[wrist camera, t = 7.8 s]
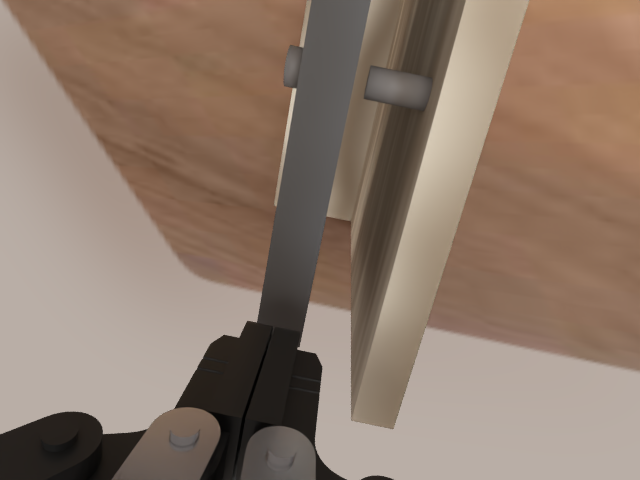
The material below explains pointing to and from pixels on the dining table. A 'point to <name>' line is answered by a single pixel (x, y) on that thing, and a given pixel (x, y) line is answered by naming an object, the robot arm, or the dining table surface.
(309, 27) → the picture frame
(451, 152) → the wall board stand
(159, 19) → the dining table surface
